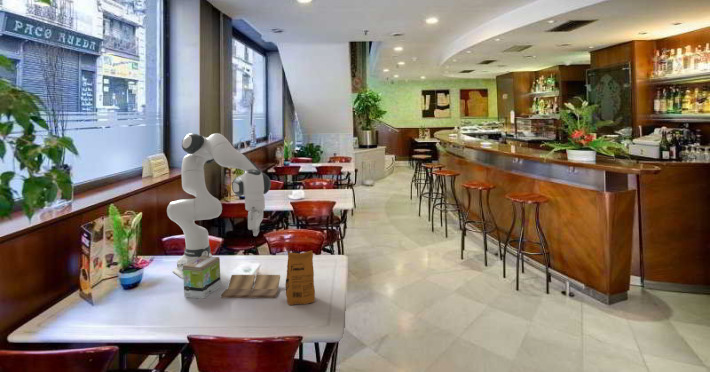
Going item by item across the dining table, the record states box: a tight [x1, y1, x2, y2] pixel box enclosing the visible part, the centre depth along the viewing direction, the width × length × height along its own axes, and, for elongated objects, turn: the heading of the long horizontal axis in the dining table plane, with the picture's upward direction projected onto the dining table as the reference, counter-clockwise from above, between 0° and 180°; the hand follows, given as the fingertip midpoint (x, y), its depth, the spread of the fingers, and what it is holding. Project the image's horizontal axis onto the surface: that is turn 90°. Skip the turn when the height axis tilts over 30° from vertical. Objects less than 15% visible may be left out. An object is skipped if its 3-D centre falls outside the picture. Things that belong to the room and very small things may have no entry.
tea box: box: [182, 256, 222, 299], centre depth 192 cm, size 15×10×15 cm, turn 168°
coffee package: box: [285, 250, 316, 306], centre depth 181 cm, size 10×12×22 cm
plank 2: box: [253, 274, 281, 290], centre depth 196 cm, size 11×8×1 cm
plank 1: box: [227, 274, 256, 289], centre depth 196 cm, size 11×8×1 cm
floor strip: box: [220, 288, 279, 299], centre depth 189 cm, size 24×7×1 cm, turn 88°
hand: (256, 234), depth 195 cm, fingers open, 3 cm apart
